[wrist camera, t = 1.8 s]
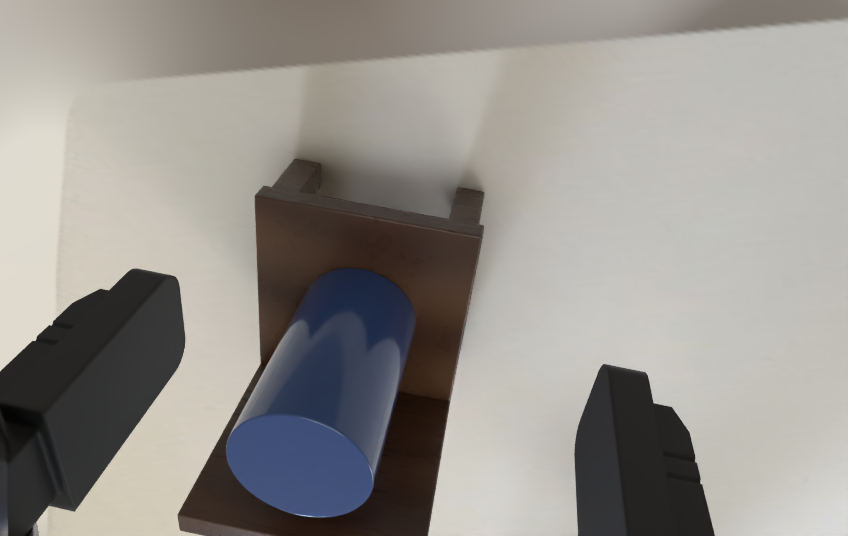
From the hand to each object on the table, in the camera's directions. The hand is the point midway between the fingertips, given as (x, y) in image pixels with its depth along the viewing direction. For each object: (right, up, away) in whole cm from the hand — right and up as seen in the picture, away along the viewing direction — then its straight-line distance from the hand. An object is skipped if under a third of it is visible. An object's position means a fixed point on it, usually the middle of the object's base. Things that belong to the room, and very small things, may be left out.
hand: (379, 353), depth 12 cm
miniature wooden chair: (-2, +2, +26) cm, 26 cm away
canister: (-3, -1, +21) cm, 21 cm away
